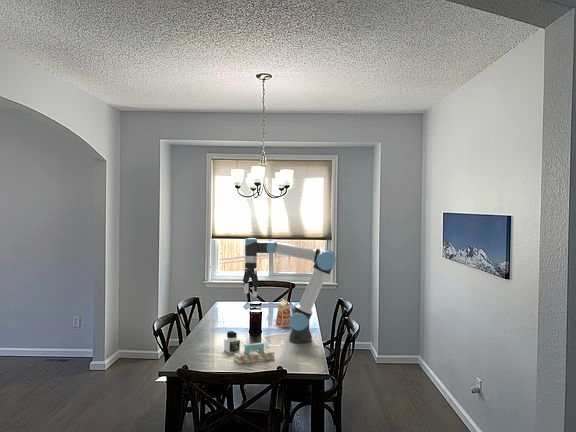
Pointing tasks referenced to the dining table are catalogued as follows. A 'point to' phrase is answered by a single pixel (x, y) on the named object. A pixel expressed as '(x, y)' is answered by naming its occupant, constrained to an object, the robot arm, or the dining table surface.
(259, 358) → the cream toy brick
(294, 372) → the dining table surface
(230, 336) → the medicine bottle
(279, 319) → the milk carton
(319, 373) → the dining table surface
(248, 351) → the teal arch block
